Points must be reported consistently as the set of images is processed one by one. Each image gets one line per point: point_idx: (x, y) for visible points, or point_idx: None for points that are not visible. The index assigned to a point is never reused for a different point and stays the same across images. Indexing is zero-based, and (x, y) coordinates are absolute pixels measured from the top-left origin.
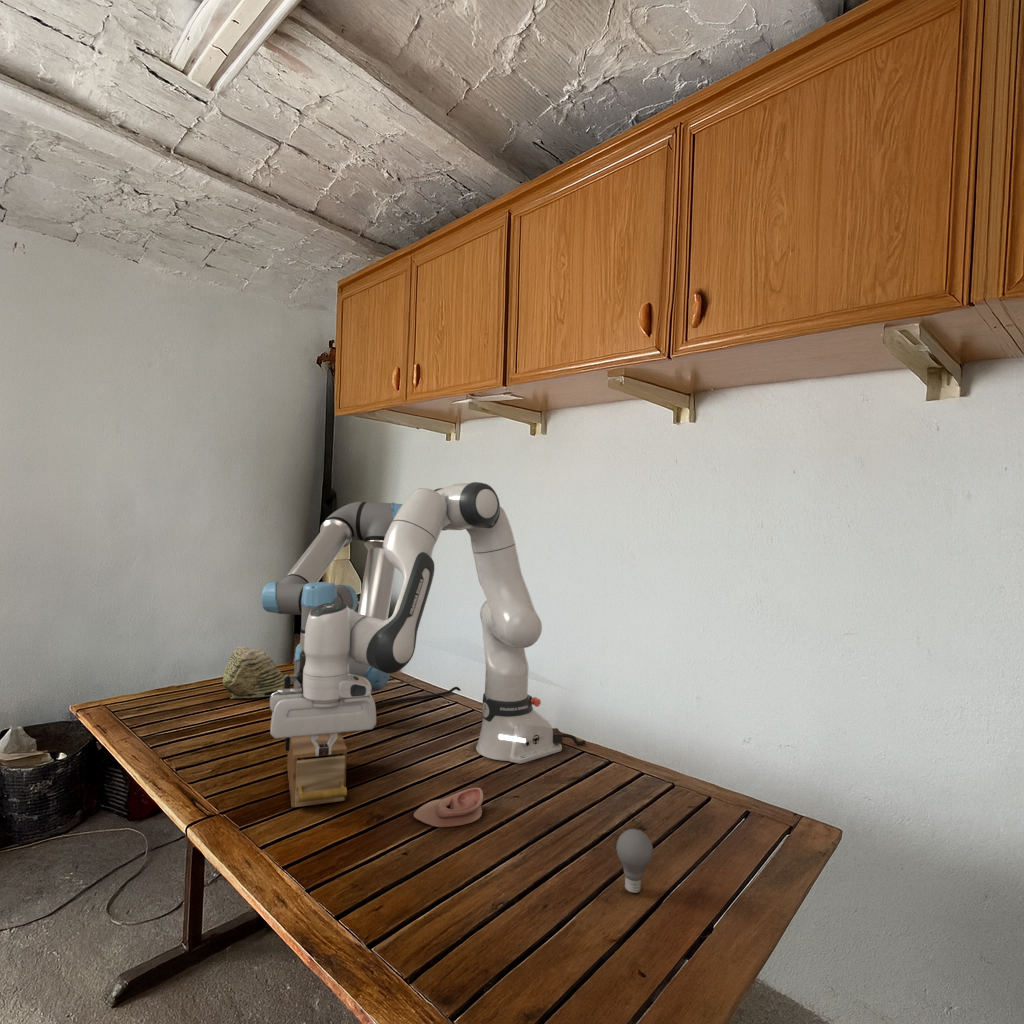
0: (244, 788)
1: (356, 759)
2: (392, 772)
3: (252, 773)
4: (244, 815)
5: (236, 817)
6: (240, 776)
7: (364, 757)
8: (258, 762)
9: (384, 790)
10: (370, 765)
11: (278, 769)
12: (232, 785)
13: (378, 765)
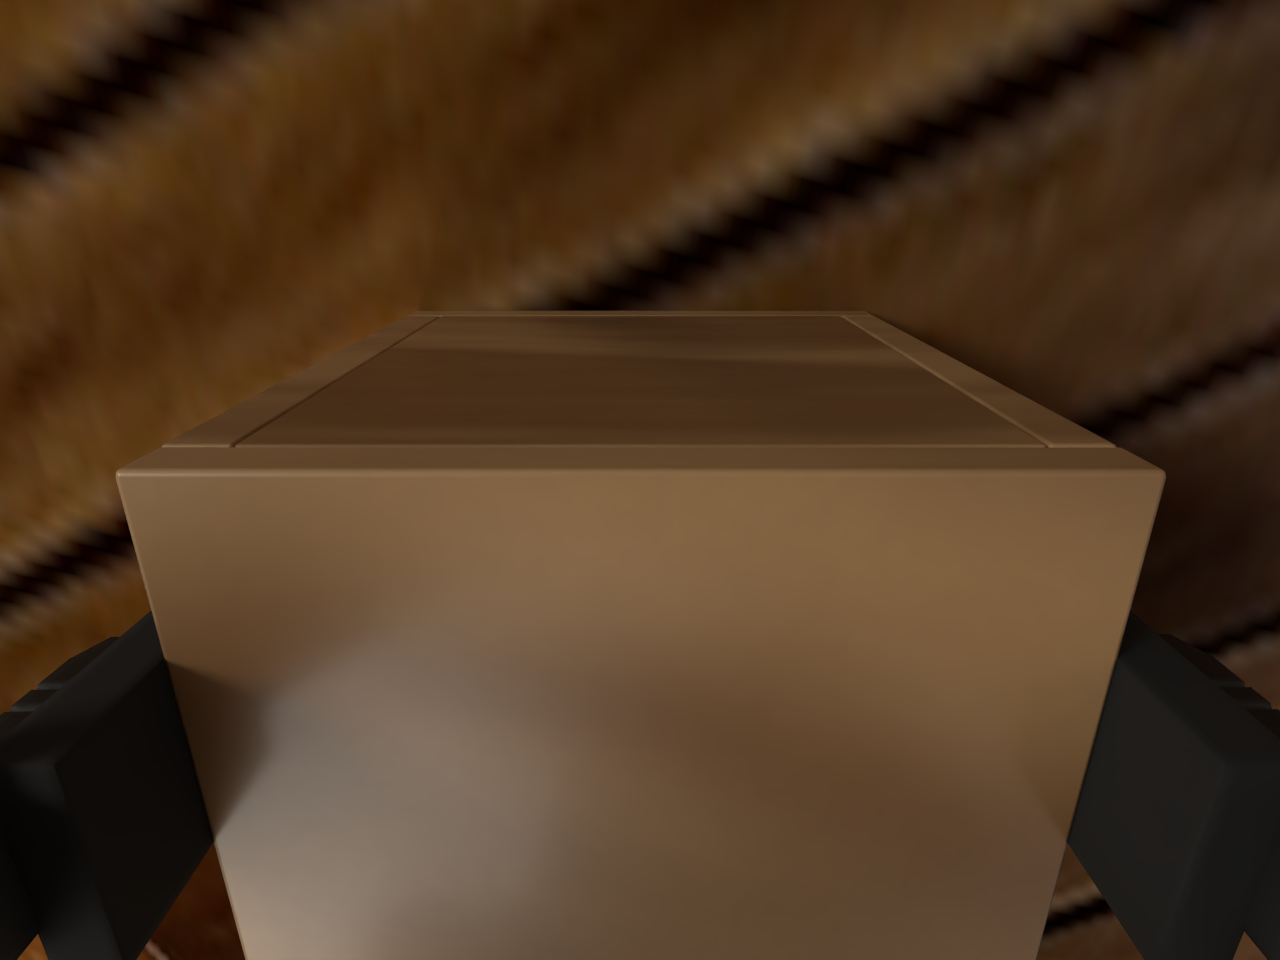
0: (118, 603)
1: (1096, 278)
2: (1267, 634)
3: (106, 336)
4: (215, 924)
5: (175, 932)
6: (14, 373)
7: (1191, 249)
8: (96, 58)
9: (1079, 862)
10: (1163, 456)
11: (335, 311)
12: (5, 530)
13: (1229, 475)
